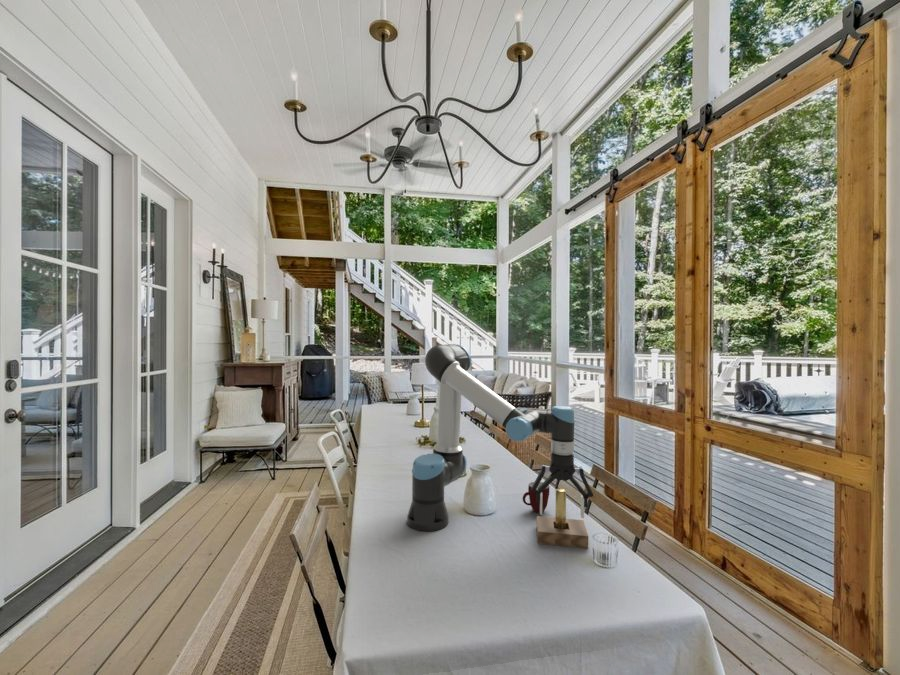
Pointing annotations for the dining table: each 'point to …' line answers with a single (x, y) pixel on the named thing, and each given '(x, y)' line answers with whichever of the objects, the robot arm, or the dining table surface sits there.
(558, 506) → the brass peg
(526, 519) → the dining table surface
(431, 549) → the dining table surface
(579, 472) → the robot arm
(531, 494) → the mug
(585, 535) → the socket block
